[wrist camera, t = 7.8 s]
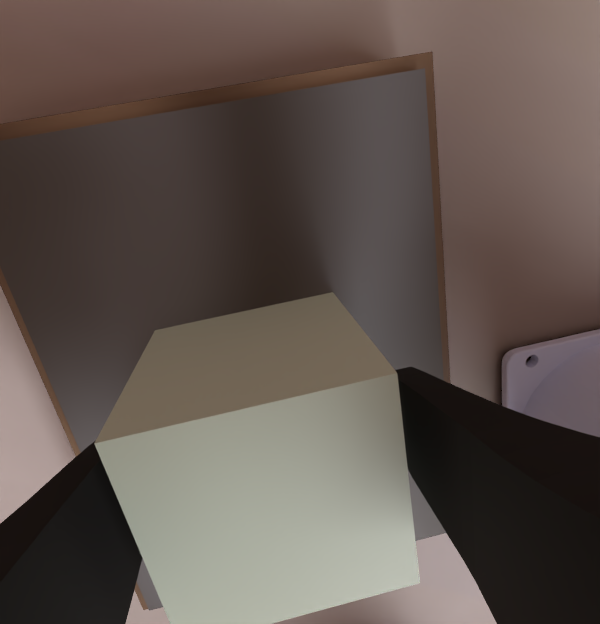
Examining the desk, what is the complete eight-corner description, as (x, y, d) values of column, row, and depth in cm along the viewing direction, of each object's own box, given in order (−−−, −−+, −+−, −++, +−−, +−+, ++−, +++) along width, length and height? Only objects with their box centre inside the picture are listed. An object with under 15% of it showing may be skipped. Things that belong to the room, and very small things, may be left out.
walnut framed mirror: (401, 71, 12) (439, 46, 10) (433, 488, 18) (463, 536, 15) (-13, 141, 11) (-79, 133, 9) (154, 558, 17) (141, 621, 14)
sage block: (332, 292, 12) (397, 373, 7) (355, 437, 13) (420, 583, 9) (155, 330, 11) (94, 443, 6) (202, 475, 13) (181, 648, 8)
